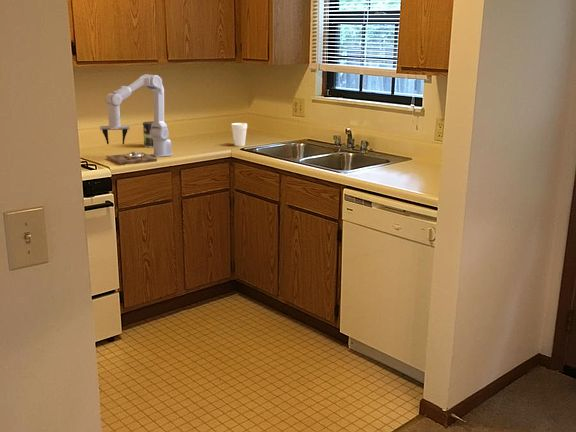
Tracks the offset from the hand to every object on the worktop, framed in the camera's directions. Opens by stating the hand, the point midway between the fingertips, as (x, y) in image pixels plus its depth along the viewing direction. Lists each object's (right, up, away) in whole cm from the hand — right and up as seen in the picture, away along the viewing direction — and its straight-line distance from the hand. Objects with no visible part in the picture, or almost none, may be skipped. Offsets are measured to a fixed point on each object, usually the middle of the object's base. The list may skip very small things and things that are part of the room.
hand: (115, 144), depth 318 cm
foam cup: (+60, +6, +57) cm, 83 cm away
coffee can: (+8, +5, +51) cm, 52 cm away
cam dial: (+7, -6, +9) cm, 13 cm away
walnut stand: (+6, -7, +10) cm, 14 cm away
